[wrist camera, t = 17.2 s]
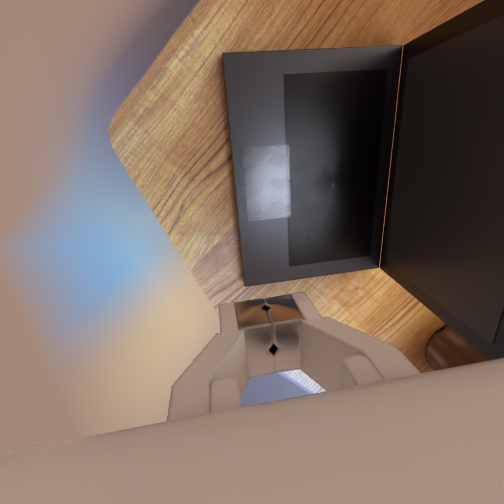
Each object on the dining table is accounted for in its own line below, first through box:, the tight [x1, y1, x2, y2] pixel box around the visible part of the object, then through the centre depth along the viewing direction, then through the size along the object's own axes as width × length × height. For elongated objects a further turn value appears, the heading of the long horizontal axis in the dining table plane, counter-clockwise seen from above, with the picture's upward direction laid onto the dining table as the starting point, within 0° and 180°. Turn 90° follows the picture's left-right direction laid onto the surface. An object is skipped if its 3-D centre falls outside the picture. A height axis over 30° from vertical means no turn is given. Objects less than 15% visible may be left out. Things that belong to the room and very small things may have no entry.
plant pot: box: [425, 325, 489, 371], centre depth 49 cm, size 16×16×16 cm
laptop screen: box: [380, 0, 504, 360], centre depth 29 cm, size 22×30×1 cm
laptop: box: [222, 45, 402, 287], centre depth 39 cm, size 22×30×2 cm
